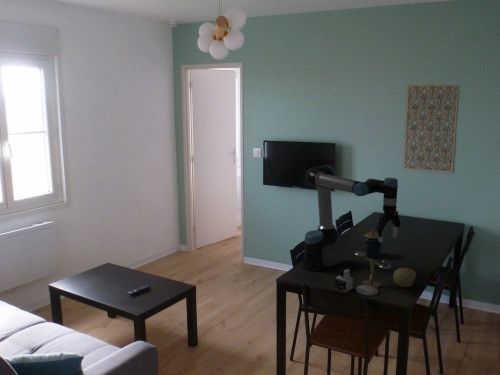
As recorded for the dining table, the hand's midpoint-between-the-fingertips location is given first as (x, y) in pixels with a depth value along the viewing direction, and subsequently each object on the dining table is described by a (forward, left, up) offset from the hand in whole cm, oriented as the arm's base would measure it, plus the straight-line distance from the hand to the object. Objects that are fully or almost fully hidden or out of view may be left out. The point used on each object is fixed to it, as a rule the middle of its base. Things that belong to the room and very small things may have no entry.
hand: (387, 239), depth 275 cm
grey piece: (-14, -27, -26) cm, 40 cm away
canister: (-26, +36, -26) cm, 52 cm away
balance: (-4, -12, -26) cm, 28 cm away
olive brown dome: (+11, -1, -26) cm, 28 cm away
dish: (-2, -22, -26) cm, 34 cm away
